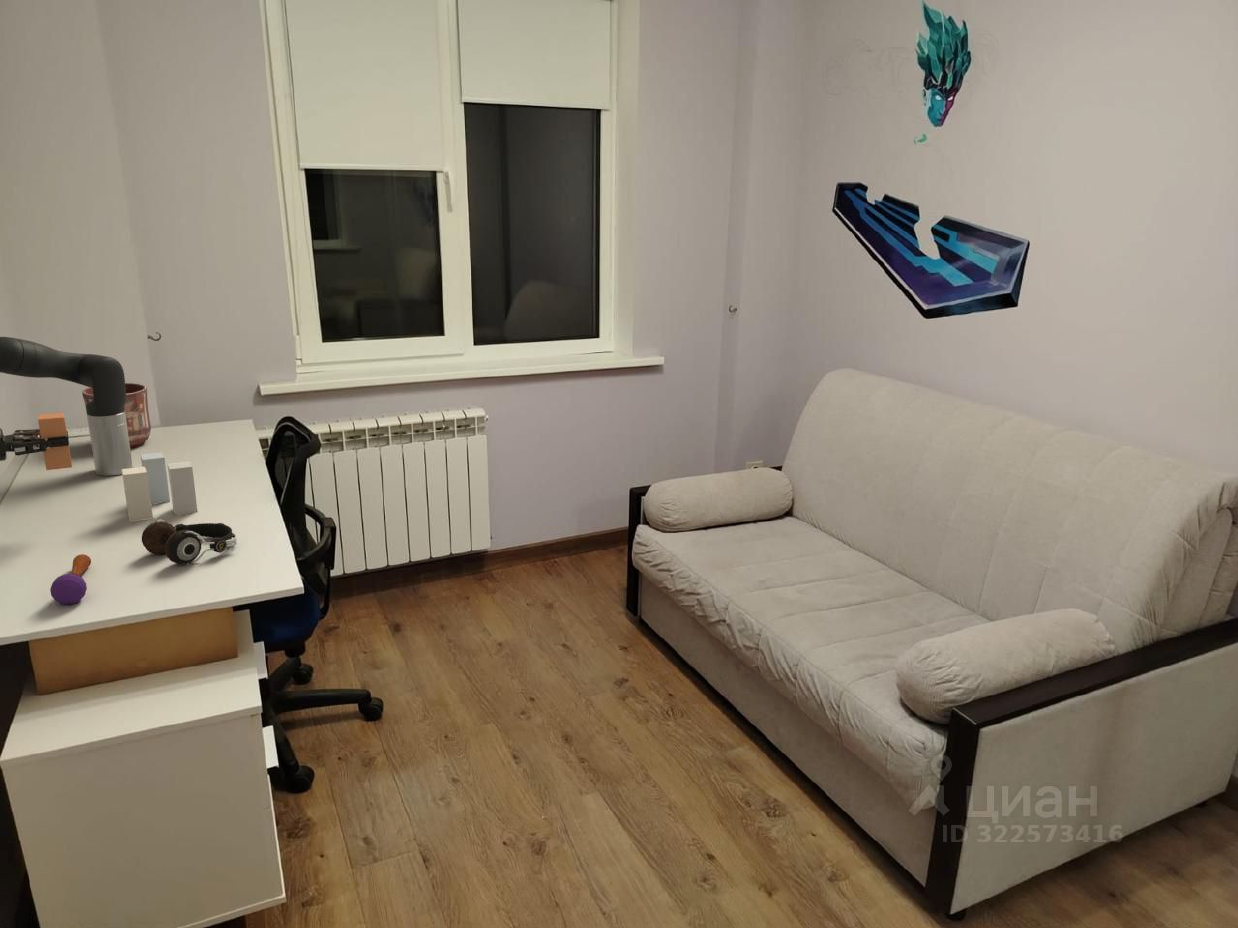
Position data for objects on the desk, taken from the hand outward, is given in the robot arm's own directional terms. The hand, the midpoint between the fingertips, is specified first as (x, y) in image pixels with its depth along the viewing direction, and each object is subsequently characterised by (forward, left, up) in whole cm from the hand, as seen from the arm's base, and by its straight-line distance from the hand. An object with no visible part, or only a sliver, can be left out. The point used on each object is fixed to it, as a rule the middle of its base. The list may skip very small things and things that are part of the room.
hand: (67, 437), depth 198 cm
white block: (-11, +17, -22) cm, 30 cm away
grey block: (0, +22, -22) cm, 31 cm away
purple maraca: (+37, -2, -22) cm, 43 cm away
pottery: (-70, +13, -22) cm, 75 cm away
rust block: (0, -3, -6) cm, 7 cm away
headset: (+28, +21, -22) cm, 41 cm away
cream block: (0, +12, -22) cm, 25 cm away
